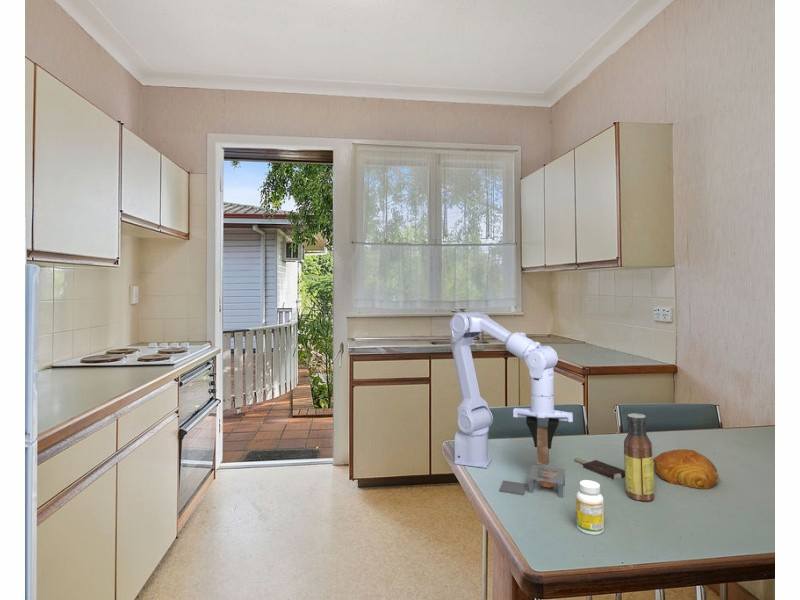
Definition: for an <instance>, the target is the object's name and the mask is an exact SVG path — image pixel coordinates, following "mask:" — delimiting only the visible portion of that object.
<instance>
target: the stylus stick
mask: <svg viewBox="0 0 800 600" xmlns="http://www.w3.org/2000/svg"><path fill="white" fill-rule="evenodd" d="M536 450H537V451H536V453H537V454H536V457H537V460H536V461H537V462H536V463H537V464H538V465H542V466H549V462H550V458H549V457H550V454H549V452H550V451H549V450H550V449H548V426H541V425H538V427H537V447H536Z"/></svg>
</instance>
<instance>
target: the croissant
mask: <svg viewBox="0 0 800 600" xmlns="http://www.w3.org/2000/svg"><path fill="white" fill-rule="evenodd" d="M653 468H654V471H655V473H656V474H657V475H658V477H660V478H661V479H663V480H665V481H666V482H668V483H669V484H673V485H676V486H679V485H682V486H684V487H688V488H694V489H701V490H707V489H711V488H712V487H714V485H716V484H717V482H718V479H719V474H718V470H717V468H716V466H715V464H714V463H713V461H711V460H710V459H709V458H708V457H706V456H705V455H703V454H701V453H699V452H697V451H696V450H693V449H686V448H685V449H684V448H683V449H682V448H681V449H673V450H668V451H665V452H661V453H659V454H658V455H657V456H655V457H653Z"/></svg>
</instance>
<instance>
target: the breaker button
mask: <svg viewBox="0 0 800 600" xmlns="http://www.w3.org/2000/svg"><path fill="white" fill-rule="evenodd" d="M540 475H541V476H548V477H555V476H554V475H552V474H549V473H542V474H540ZM539 484H540V486H542V487H544V488H553V487H554V486H555V483H554V482H547V481H540V480H539Z"/></svg>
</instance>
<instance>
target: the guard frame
mask: <svg viewBox="0 0 800 600" xmlns="http://www.w3.org/2000/svg"><path fill="white" fill-rule="evenodd" d="M565 470H566V469H565V468H557V467H550V466H546V465H536V464H532V466H531V469H530V471H529V475H528V492H529V493H530V494H534V491H535V488H534V487H535V485H534V483H536V482H537V481H539V482H540V481H547V482H554V484H558V498H563V499H564V487H565V486H566V485H565V484H566V483H565V482H566V481H565V480H566V479H565V477H566V475H565ZM539 471H541V472H547V473H548V472H549V473H556V475H555V476H554V477H548V476H541V475H542V474H540V475H539Z"/></svg>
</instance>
